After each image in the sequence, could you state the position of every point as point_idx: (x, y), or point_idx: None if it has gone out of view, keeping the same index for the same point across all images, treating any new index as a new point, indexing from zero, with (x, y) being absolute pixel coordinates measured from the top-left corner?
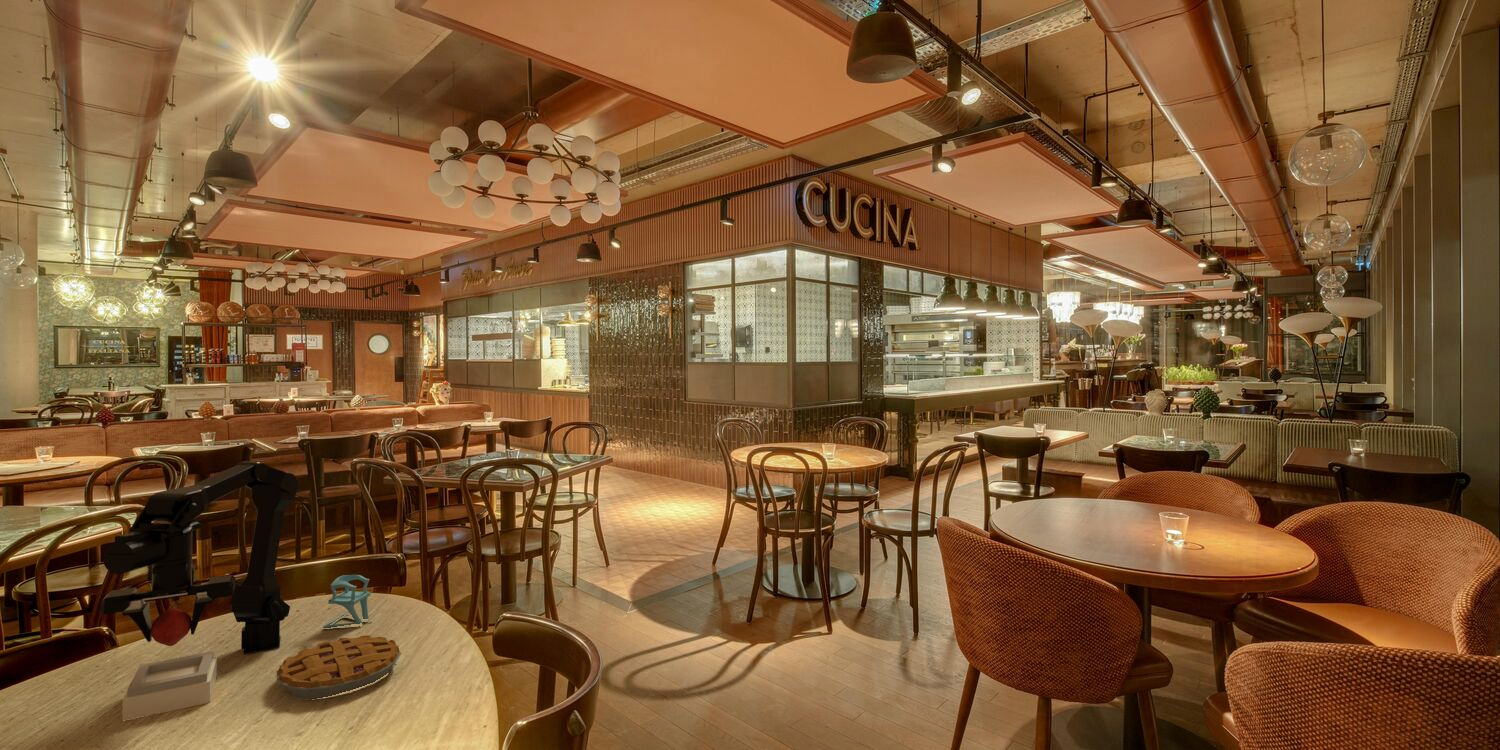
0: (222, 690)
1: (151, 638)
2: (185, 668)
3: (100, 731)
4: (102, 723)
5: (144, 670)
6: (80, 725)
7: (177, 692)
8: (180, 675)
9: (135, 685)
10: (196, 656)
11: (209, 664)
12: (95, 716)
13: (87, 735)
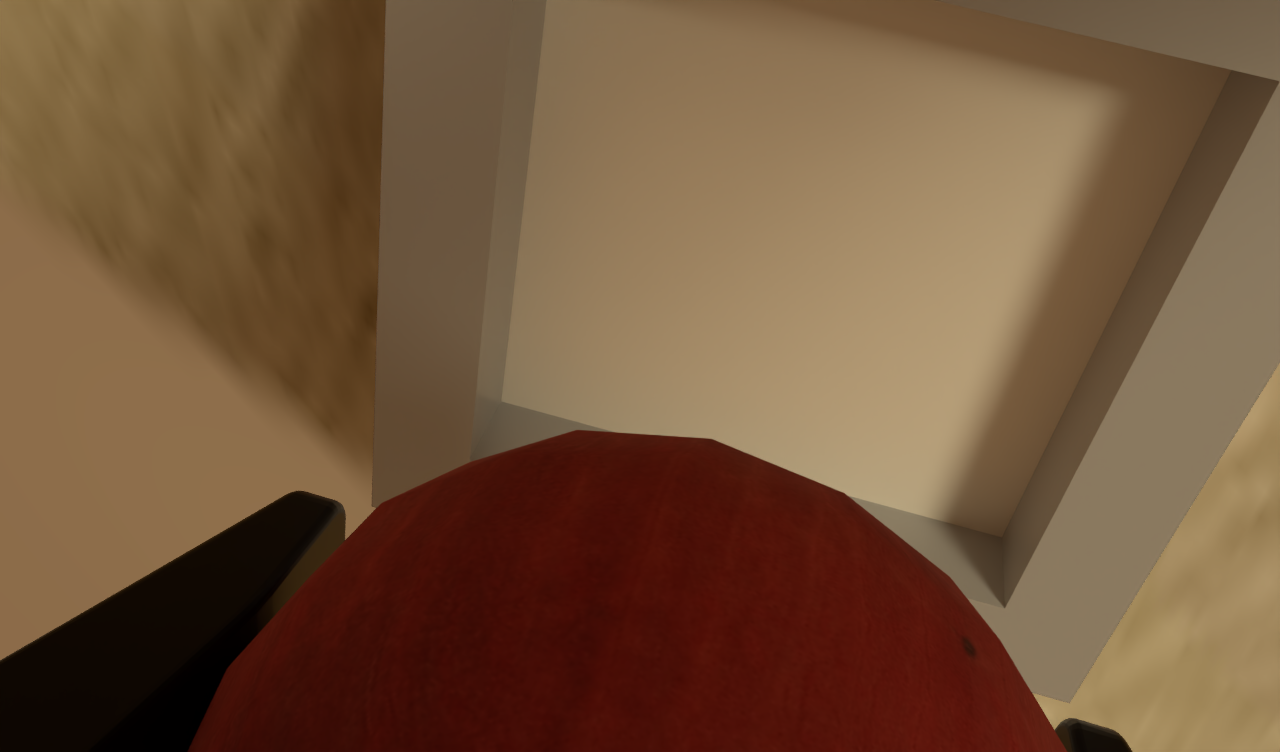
0: None
1: (328, 548)
2: (993, 61)
3: (342, 379)
4: (327, 248)
5: (476, 58)
6: (178, 155)
7: None
8: (887, 269)
9: (429, 470)
10: (1194, 13)
11: (1196, 488)
12: (242, 47)
13: (275, 377)
